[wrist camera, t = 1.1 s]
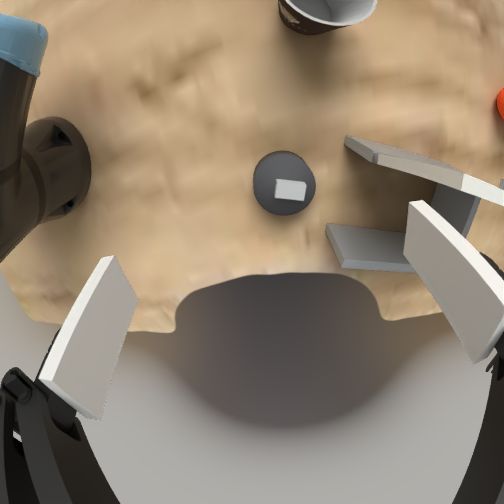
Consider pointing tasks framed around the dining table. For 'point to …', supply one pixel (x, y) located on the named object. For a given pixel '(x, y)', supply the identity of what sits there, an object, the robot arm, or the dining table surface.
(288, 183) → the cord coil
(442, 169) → the lid
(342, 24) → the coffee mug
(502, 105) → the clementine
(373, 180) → the dining table surface
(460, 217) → the grey box
